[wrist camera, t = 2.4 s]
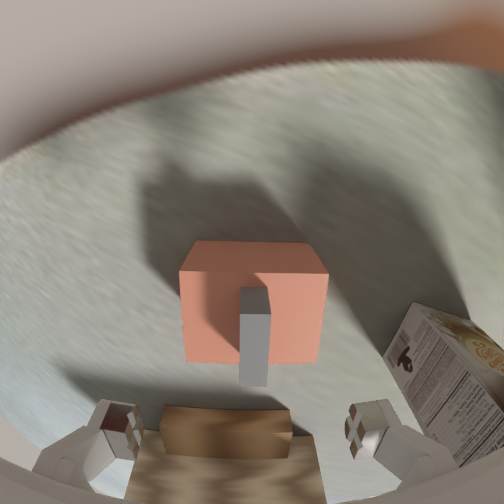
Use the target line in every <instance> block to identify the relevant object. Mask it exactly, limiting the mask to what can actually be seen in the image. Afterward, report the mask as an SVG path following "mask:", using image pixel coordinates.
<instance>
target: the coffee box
mask: <svg viewBox="0 0 504 504" xmlns="http://www.w3.org/2000/svg"><path fill="white" fill-rule="evenodd" d="M383 360H384V362H385V363H386V365H387V367H388V369H389V370H390V372H391V374H392V376H393V377H394V379H395V381H396V383H397V385H398V386H399V388H400V390H401V392H402V394H403V395H404V397H405V399H406V401H407V403H408V405H409V407H410V408H411V410H412V412H413V414H414V416H415V418H416V419H417V421H418V423H419V425H420V427H421V429H422V431H423V433H424V435H425V436H427V437H428V438H430V439H432V440H434V441H436V442H438V443H439V444H441V445H443V446H445V447H447V448H448V449H449V451H450V453H451V455H452V456H453V458H454V460H455V461H456V463H457V465H458V467H459V468H460V467H463V466H465V465H467V464H469V463H472V462H474V461H476V460H478V459H480V458H482V457H484V456H486V455H488V454H490V453H492V452H494V451H496V450H498V449H500V448H502V447H504V350H503V349H502V348H501V347H500V346H499V345H498V344H497V343H496V342H495V341H493V340H492V339H491V338H490V337H489V336H488V335H487V334H486V333H485V332H484V331H483V330H482V329H481V328H479V327H478V326H477V325H476V324H475V323H474V322H472V321H470V320H467V319H464V318H461V317H458V316H455V315H452V314H449V313H446V312H443V311H440V310H437V309H434V308H431V307H428V306H425V305H422V304H419V303H416V302H413V303H412V304H411V306H410V308H409V310H408V312H407V314H406V316H405V318H404V320H403V321H402V323H401V325H400V327H399V329H398V331H397V333H396V334H395V336H394V338H393V340H392V342H391V343H390V345H389V347H388V349H387V350H386V352H385V354H384V356H383Z"/></svg>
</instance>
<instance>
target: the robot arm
mask: <svg viewBox="0 0 504 504" xmlns="http://www.w3.org/2000/svg"><path fill="white" fill-rule="evenodd" d="M139 412H140V410H139V407H138V405H136V404H130V403H124V402H118V401H112V400H106V399H101V400H100V401H99V402H98V404H97V406H96V408H95V410H94V412H93V414H92V416H91V418H90V421H89V423H88V425H87V426H82V427H81V428H79V429H77V430H76V431H74V432H72V433H71V434H69V435H67V436H66V437H64V438H62V439H60V440H59V441H57V442H55V443H54V444H52V445H50V446H48V447H47V448H45V449H43V450H42V452H41V454H40V456H39V458H38V459H37V462H36V464H35V465H34V468H33V469H32V471H30V470H27V469H25V468H22V467H20V466H18V465H15V464H13V463H11V462H9V461H7V460H5V459H3V458H1V457H0V504H145V503H139V502H133V501H128V500H124V499H119V498H114V497H110V496H106V495H101V494H98V493H95V491H94V490H93V489H92V487H91V486H90V484H89V482H90V481H91V480H93V479H94V478H95V477H96V476H97V475H98V474H100V473H101V472H102V471H103V470H104V469H105V468H106V467H108V466H109V465H110V464H111V463H112V462H113V461H114V460H115V459H116V458H120V459H126V460H133V461H136V459H137V456H138V452H139V449H140V448H139V446H138V443H139V442H140V441H141V440H142V438H143V433H144V425H143V420H142V418H141V417H140V416H139ZM349 413H350V416H348V417H347V418H346V422H345V435H346V438H347V440H348V441H350V442H351V446H350V450H351V453H352V456H353V458H354V460H356V459H362V458H368V457H374V458H375V459H376V460H377V461H378V462H380V463H381V464H382V465H383V466H384V467H386V468H387V469H388V470H389V471H390V472H392V473H393V474H394V475H395V476H397V477H398V478H399V479H400V480H402V482H401V483H400V485H399V486H398V488H397V489H396V490H395V491H391V492H387V493H383V494H380V495H375V496H371V497H367V498H362V499H358V500H353V501H348V502H342V503H337V504H504V447H502V448H500V449H498V450H496V451H494V452H492V453H490V454H488V455H486V456H484V457H482V458H480V459H478V460H476V461H474V462H472V463H469V464H467V465H465V466H463V467H460V468H459V467H458V465H457V463H456V461H455V460H454V458H453V456H452V455H451V453H450V451H449V449H448V448H447V447H445V446H443V445H441V444H439V443H438V442H436V441H434V440H432V439H430V438H428V437H427V436H425V435H423V434H421V433H419V432H418V431H416V430H414V429H412V428H411V427H409V426H407V425H402V423H401V422H400V420H399V418H398V416H397V414H396V412H395V411H394V409H393V407H392V405H391V403H390V402H389V400H388V399H382V400H376V401H369V402H363V403H356V404H352V405H351V406H350V409H349Z"/></svg>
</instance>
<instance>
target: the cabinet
mask: <svg viewBox="0 0 504 504" xmlns="http://www.w3.org/2000/svg"><path fill="white" fill-rule="evenodd" d="M328 279H329V273H328V271H327V270H326V268H325V267H324V265H323V264H322V262H321V261H320V259H319V258H318V256H317V255H316V253H315V252H314V250H313V249H312V247H311V246H310V244H309V243H289V242H246V241H195V243H194V245H193V246H192V248H191V250H190V252H189V254H188V255H187V257H186V259H185V261H184V263H183V264H182V266H181V268H180V270H179V280H180V295H181V309H182V321H183V333H184V343H185V353H186V361H188V362H206V363H231V364H239V387H266V385H267V372H268V364H299V363H316V360H317V354H318V348H319V342H320V336H321V329H322V323H323V316H324V309H325V302H326V294H327V287H328Z"/></svg>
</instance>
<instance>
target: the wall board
mask: <svg viewBox="0 0 504 504" xmlns="http://www.w3.org/2000/svg"><path fill="white" fill-rule="evenodd" d="M159 429H160V431H152V430H145V429H144V433H143V438H142V440H141V442H140V446H139V448H140V449H139V452H138V456H137V459H136V461H135V462H134V465H133V469H132V472H131V476H130V479H129V483H128V486H127V490H126V493H125V497H124V500H128V501H133V502H139V503H145V504H327V502H326V497H325V492H324V487H323V482H322V477H321V472H320V467H319V462H318V457H317V453H316V448H315V443H314V438H313V435H310V436H293V437H292V434H293V430H292V423H291V417H290V410H223V409H203V408H189V407H177V406H167V405H165V407H164V411H163V414H162V418H161V421H160V425H159Z"/></svg>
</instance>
